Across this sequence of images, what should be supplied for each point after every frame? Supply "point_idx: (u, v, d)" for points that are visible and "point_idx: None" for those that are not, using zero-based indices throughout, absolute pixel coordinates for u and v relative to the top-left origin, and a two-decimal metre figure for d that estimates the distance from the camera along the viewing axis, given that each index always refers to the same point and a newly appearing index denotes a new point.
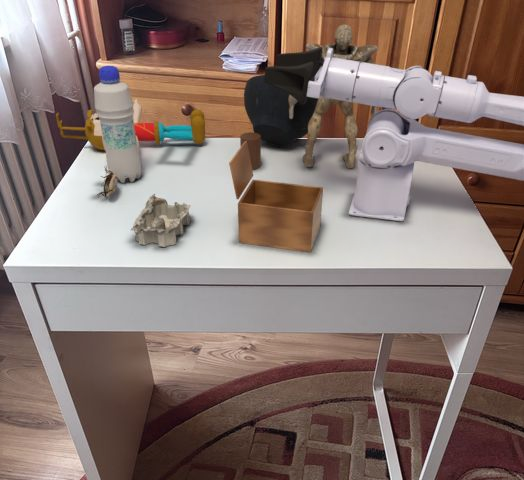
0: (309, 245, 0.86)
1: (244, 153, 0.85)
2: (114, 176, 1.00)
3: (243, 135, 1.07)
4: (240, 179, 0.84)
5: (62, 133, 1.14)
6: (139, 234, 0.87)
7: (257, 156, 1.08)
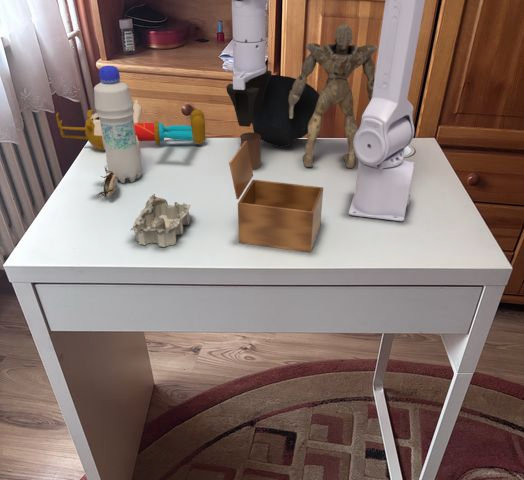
0: (309, 245, 0.86)
1: (244, 153, 0.85)
2: (114, 176, 1.00)
3: (243, 135, 1.07)
4: (240, 179, 0.84)
5: (62, 133, 1.14)
6: (139, 234, 0.87)
7: (257, 156, 1.08)
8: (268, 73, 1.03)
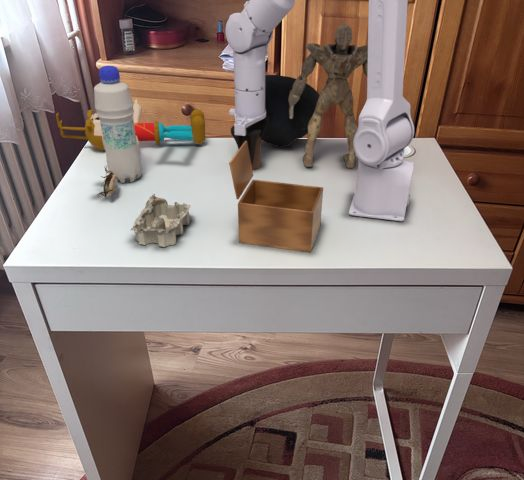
0: (309, 245, 0.86)
1: (244, 153, 0.85)
2: (114, 176, 1.00)
3: None
4: (240, 179, 0.84)
5: (62, 133, 1.14)
6: (139, 234, 0.87)
7: (257, 156, 1.08)
8: (266, 119, 1.07)
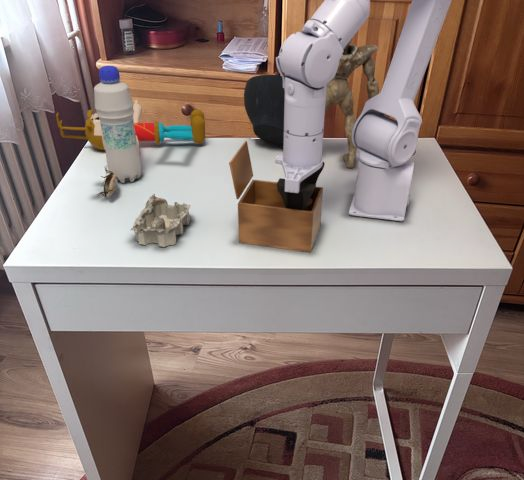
0: (309, 245, 0.86)
1: (244, 153, 0.85)
2: (114, 176, 1.00)
3: None
4: (240, 179, 0.84)
5: (62, 133, 1.14)
6: (139, 234, 0.87)
7: None
8: (321, 165, 0.85)
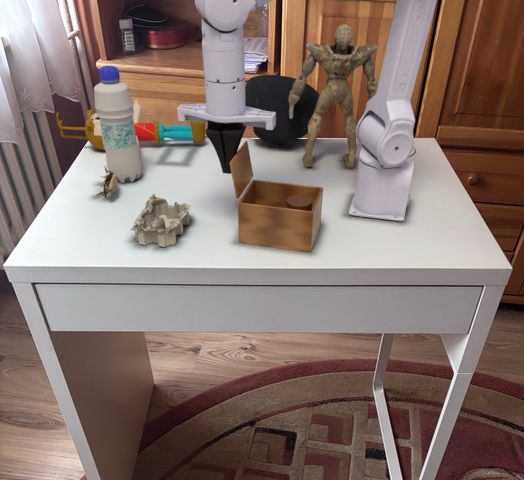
0: (309, 245, 0.86)
1: (244, 153, 0.85)
2: (114, 176, 1.00)
3: (291, 200, 0.86)
4: (240, 179, 0.84)
5: (62, 133, 1.14)
6: (139, 234, 0.87)
7: None
8: (226, 131, 0.79)
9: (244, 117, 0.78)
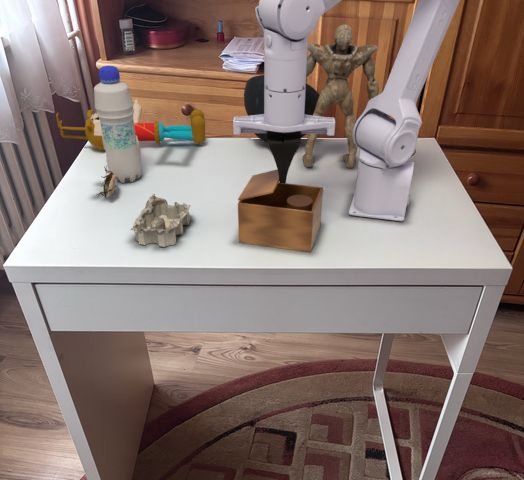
0: (309, 245, 0.86)
1: None
2: (114, 176, 1.00)
3: (291, 200, 0.86)
4: None
5: (62, 133, 1.14)
6: (139, 234, 0.87)
7: None
8: (287, 140, 0.78)
9: (308, 125, 0.77)
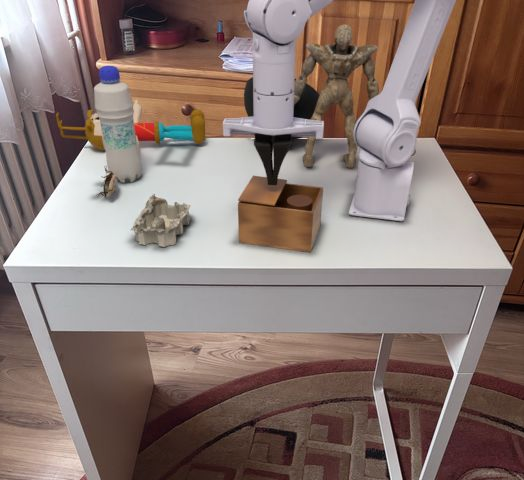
0: (309, 245, 0.86)
1: None
2: (114, 176, 1.00)
3: (291, 200, 0.86)
4: None
5: (62, 133, 1.14)
6: (139, 234, 0.87)
7: None
8: (277, 143, 0.79)
9: (296, 128, 0.77)
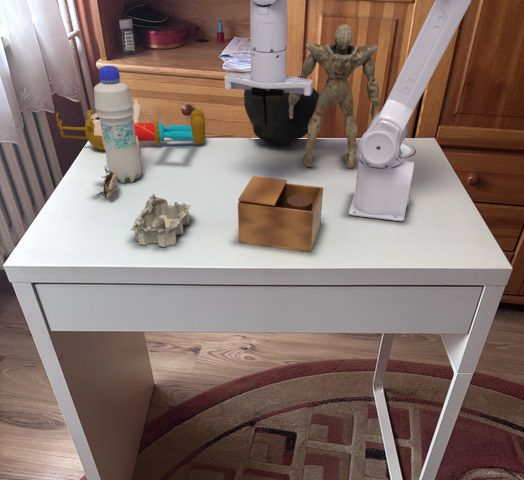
0: (309, 245, 0.86)
1: None
2: (114, 176, 1.00)
3: (291, 200, 0.86)
4: None
5: (62, 133, 1.14)
6: (139, 234, 0.87)
7: None
8: (268, 96, 0.89)
9: (285, 84, 0.88)
